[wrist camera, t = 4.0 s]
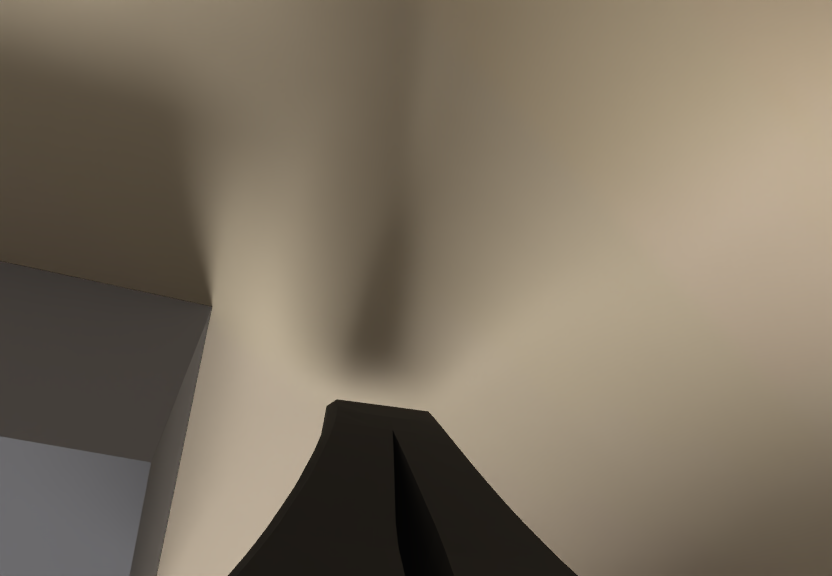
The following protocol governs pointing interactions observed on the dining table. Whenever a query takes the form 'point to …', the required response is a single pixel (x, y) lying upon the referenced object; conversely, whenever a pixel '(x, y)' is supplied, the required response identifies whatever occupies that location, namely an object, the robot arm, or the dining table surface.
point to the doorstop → (90, 421)
